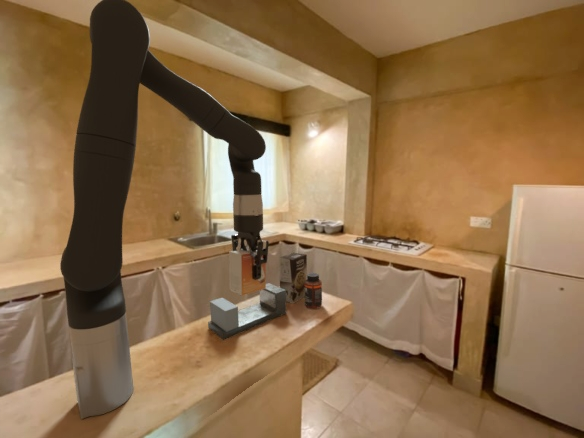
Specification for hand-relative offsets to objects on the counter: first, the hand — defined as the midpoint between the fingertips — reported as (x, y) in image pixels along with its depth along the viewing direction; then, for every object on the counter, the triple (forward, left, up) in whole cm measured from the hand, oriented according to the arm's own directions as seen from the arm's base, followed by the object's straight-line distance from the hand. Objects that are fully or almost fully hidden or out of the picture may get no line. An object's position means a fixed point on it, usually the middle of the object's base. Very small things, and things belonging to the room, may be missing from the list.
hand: (249, 275), depth 74 cm
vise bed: (+5, +10, -19) cm, 22 cm away
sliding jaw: (-2, +10, -16) cm, 20 cm away
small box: (-1, 0, -4) cm, 4 cm away
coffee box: (+28, +13, -19) cm, 36 cm away
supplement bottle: (+28, +3, -19) cm, 34 cm away
